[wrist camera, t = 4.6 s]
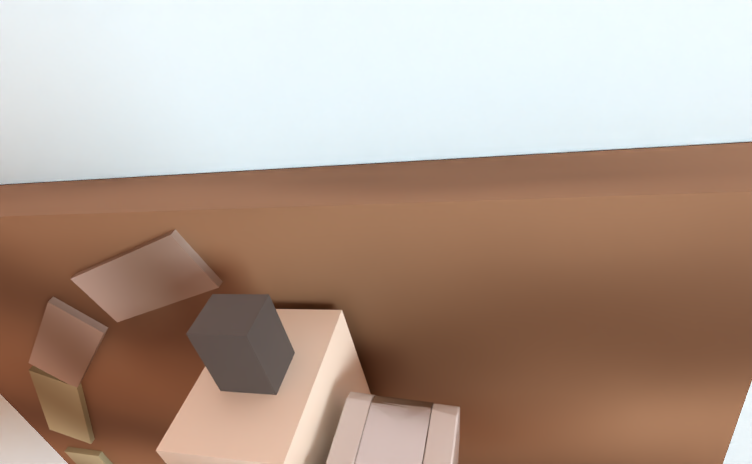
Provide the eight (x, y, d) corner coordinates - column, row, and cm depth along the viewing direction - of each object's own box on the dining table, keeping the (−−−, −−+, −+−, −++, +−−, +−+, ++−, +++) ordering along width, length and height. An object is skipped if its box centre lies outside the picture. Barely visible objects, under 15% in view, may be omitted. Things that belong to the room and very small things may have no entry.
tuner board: (-115, 191, 15) (-175, 226, 14) (781, 140, 9) (824, 197, 8) (165, 514, 26) (146, 551, 25) (651, 596, 20) (660, 651, 19)
